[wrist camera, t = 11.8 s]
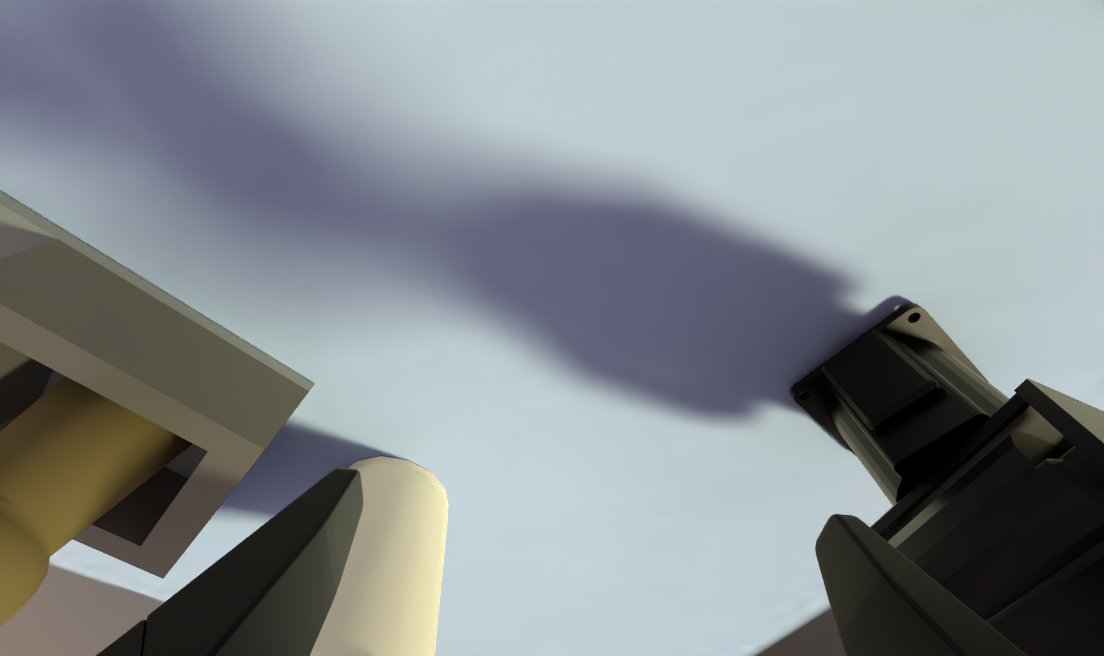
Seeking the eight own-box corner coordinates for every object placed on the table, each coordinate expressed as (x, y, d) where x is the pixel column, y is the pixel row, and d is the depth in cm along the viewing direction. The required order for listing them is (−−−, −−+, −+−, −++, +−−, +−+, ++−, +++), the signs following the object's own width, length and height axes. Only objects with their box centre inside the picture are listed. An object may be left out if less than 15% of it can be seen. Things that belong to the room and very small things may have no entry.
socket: (314, 383, 24) (264, 449, 20) (189, 543, 30) (131, 618, 26) (-53, 158, 19) (-215, 185, 15) (-115, 402, 25) (-243, 467, 21)
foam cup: (401, 572, 31) (306, 870, 20) (275, 492, 28) (75, 792, 17) (509, 504, 28) (471, 812, 17) (381, 404, 25) (225, 702, 13)
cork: (69, 404, 24) (-254, 632, 15) (100, 319, 22) (-262, 525, 12) (191, 461, 26) (-27, 699, 16) (232, 388, 24) (4, 617, 14)
